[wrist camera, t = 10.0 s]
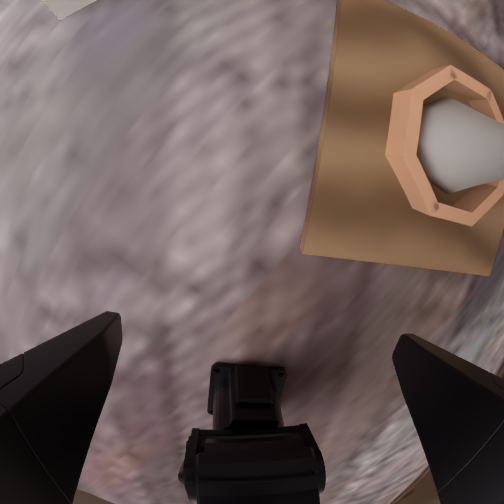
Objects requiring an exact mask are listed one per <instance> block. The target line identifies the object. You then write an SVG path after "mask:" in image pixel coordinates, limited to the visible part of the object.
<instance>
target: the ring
mask: <svg viewBox="0 0 504 504" xmlns="http://www.w3.org/2000/svg"><path fill="white" fill-rule="evenodd" d="M442 87H444V88H446V89H448V90H450V91H452V92H454V93H456V94H457V95H459V96H461V97H463V98H465V99H466V100H468V101H469V103H470V106H471V108H472V109H474V110H476V111H478V112H480V113H482V114H484V115H486V116H488V117H490V118H492V119H494V120H496V121H498V122H500V123H501V124H504V120H503V117H502V115H501V112H500V110H499V107H498V105H497V102H496V100H495V98H494V95H493V93H492V91H491V90H490V89H489V88H487V87H486V86H484V85H483V84H481V83H480V82H478V81H477V80H475V79H474V78H472V77H470V76H469V75H467V74H465V73H464V72H462V71H460V70H459V69H457V68H455V67H453V66H452V65H448V66H444V67H440V68H436V69H432V70H430V71H429V72H427V73H425V74H424V75H422V76H420V77H419V78H417V79H415V80H414V81H412V82H411V83H409V84H407V85H406V86H404V87H403V88H401V89H399V90H398V91H396V92H395V93H393V101H392V110H391V118H390V125H389V132H388V139H387V145H386V151H385V156H386V158H387V160H388V161H389V163H390V165H391V167H392V169H393V171H394V173H395V174H396V176H397V178H398V180H399V182H400V184H401V186H402V188H403V190H404V192H405V194H406V196H407V198H408V200H409V202H410V204H411V207H412V208H413V209H415V210H418V211H420V212H422V213H425V214H427V215H429V216H433V217H437V218H441V219H445V220H449V221H453V222H457V223H461V224H465V225H468V226H471V227H472V226H473V225H474V224H475V223H476V222H477V221H478V220H479V219H480V218H481V217H482V216H483V215H484V214H485V213H486V212H487V211H488V210H489V209H490V208H491V207H492V206H493V205H494V204H495V203H496V202H497V201H498V200H499V199H500V198H501V197H502V196H503V193H504V179H501V180H497V181H493V182H489V183H485V184H481V185H477V186H474V187H473V188H472V189H471V190H470V191H469V192H467V193H466V194H465V195H464V196H463V197H462V198H461V199H460V200H459V201H458V202H456V203H455V204H454V205H449V204H446V203H442V202H439V201H437V199H436V197H435V194H434V192H433V190H432V187H431V185H430V183H429V181H428V178H427V176H426V174H425V172H424V170H423V168H422V166H421V164H420V162H419V159H418V157H417V155H416V153H417V147H418V140H419V133H420V125H421V117H422V108H423V100H424V99H426V98H427V97H429V96H430V95H432V94H433V93H435V92H436V91H438V90H439V89H441V88H442Z"/></svg>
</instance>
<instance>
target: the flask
mask: <svg viewBox="0 0 504 504" xmlns="http://www.w3.org/2000/svg"><path fill="white" fill-rule="evenodd" d="M416 155H417V157H418V159H419V162H420V164H421V166H422V168H423V170H424V172H425V174H426V176H427V178H428V180H429V181H430V182H432V183H433V184H434V185H436V186H437V187H438V188H440V189H441V190H442V191H444V192H445V193H446V194H450V193H454V192H457V191H460V190H464V189H467V188H470V187H473V186H477V185H481V184H485V183H489V182H493V181H497V180H501V179H504V124H501V123H500V122H498V121H496V120H494V119H492V118H490V117H488V116H486V115H484V114H482V113H480V112H478V111H476V110H474V109H472V108H470V107H468V106H466V105H465V104H463V103H461V102H459V101H457V100H454V99H452V98H450V97H447V96H446V97H444V98H442V99H439V100H437V101H435V102H433V103H431V104H428V105H426V106H424V107H423V108H422V117H421V125H420V133H419V140H418V147H417V153H416Z"/></svg>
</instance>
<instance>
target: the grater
mask: <svg viewBox="0 0 504 504" xmlns="http://www.w3.org/2000/svg"><path fill="white" fill-rule="evenodd" d="M42 1H43V2H44V3H45V4H46V5H47V6H48V7H49V9H50V10H51V11H52V12H53V13H54V14H55V15H56V16H57V17H58V18H59V19H60V21H61V20H62V19H64V18H66V17H67V16H69V15H71V14H73V13H74V12H76V11H78V10H80V9H82V8H83V7H85V6H87V5H89V4H91V3H93V2H95V1H97V0H42Z"/></svg>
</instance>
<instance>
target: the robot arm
mask: <svg viewBox="0 0 504 504" xmlns="http://www.w3.org/2000/svg"><path fill="white" fill-rule="evenodd" d="M121 345H122V326H121V316H120V314H119V313H115V312H109V311H106V312H104V313H102V314H100V315H98V316H96V317H94V318H92V319H90V320H88V321H86V322H84V323H82V324H80V325H78V326H76V327H74V328H72V329H70V330H68V331H66V332H64V333H62V334H60V335H58V336H56V337H54V338H52V339H50V340H48V341H46V342H44V343H42V344H40V345H38V346H36V347H34V348H32V349H30V350H28V351H26V352H24V353H23V354H20V355H18V356H16V357H14V358H12V359H10V360H8V361H6V362H4V363H2V364H0V504H72V503H73V500H74V496H75V492H76V489H77V485H78V482H79V478H80V475H81V472H82V468H83V465H84V462H85V459H86V455H87V452H88V449H89V446H90V443H91V440H92V437H93V434H94V431H95V428H96V425H97V422H98V420H99V417H100V414H101V411H102V408H103V406H104V403H105V400H106V398H107V395H108V392H109V389H110V387H111V383H112V380H113V376H114V372H115V368H116V364H117V360H118V356H119V352H120V348H121ZM392 360H393V363H394V366H395V370H396V373H397V376H398V380H399V383H400V387H401V390H402V393H403V396H404V399H405V401H406V404H407V406H408V409H409V412H410V414H411V417H412V419H413V422H414V425H415V427H416V430H417V433H418V436H419V438H420V441H421V444H422V447H423V450H424V452H425V455H426V458H427V461H428V464H429V467H430V470H431V473H432V476H433V480H434V483H435V486H436V489H437V492H438V496H439V500H440V503H441V504H504V379H502V378H500V377H498V376H496V375H494V374H492V373H489V372H488V371H486V370H484V369H482V368H480V367H478V366H476V365H474V364H472V363H470V362H468V361H466V360H464V359H462V358H460V357H458V356H456V355H454V354H452V353H450V352H448V351H446V350H444V349H442V348H440V347H438V346H436V345H434V344H432V343H430V342H428V341H426V340H424V339H422V338H420V337H418V336H416V335H414V334H403V335H401V336H400V338H399V340H398V343H397V345H396V347H395V350H394V352H393V355H392ZM215 369H219V370H215ZM281 372H282V374H279V373H281ZM286 376H287V372H286V369H285V368H282V367H260V366H244V365H230V364H218V363H216V364H213V365H212V367H211V376H210V386H209V397H208V409H207V412H208V413H209V414H211V415H213V430H200V428H192V433H191V436H189V439H188V441H187V443H186V454H185V459H184V461H183V464H182V466H181V469H180V471H179V474H178V479H179V481H180V482H181V483H182V484H183V485H184V486H185V490H186V492H187V495H188V499H189V500H190V501H197V504H320V497H319V493H322V492H323V491H324V488H325V482H326V473H325V465H324V460H323V457H322V454H321V451H320V449H319V447H318V445H317V443H316V441H315V439H314V437H313V435H312V433H311V431H310V429H309V427H308V425H307V423H304V424H299V425H296V426H286V427H284V423H283V418H282V413H281V408H280V404H279V399H280V396H281V393H282V389H283V386H284V383H285V379H286Z"/></svg>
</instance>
